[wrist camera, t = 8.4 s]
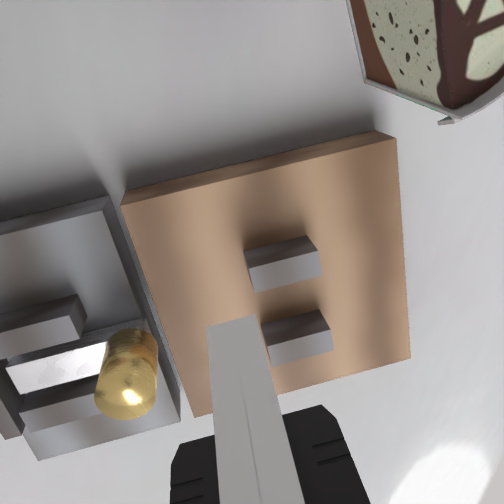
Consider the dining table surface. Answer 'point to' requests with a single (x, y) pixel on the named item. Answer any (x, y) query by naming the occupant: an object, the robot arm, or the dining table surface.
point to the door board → (211, 281)
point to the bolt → (98, 367)
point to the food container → (433, 51)
